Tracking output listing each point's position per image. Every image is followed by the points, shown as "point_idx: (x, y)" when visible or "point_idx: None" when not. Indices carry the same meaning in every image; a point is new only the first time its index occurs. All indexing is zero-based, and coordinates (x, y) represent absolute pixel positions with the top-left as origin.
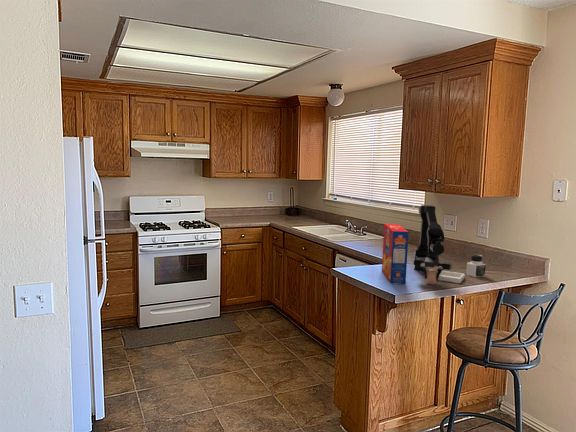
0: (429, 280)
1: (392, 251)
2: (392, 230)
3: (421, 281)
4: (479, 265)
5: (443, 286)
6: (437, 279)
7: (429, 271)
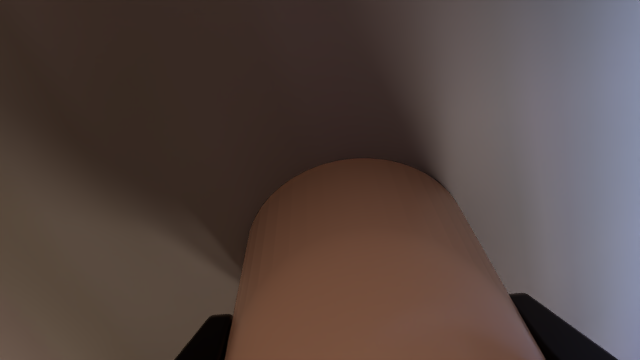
0: (397, 212)
1: None
2: None
3: (589, 243)
4: None
5: (9, 171)
6: (192, 345)
7: None
